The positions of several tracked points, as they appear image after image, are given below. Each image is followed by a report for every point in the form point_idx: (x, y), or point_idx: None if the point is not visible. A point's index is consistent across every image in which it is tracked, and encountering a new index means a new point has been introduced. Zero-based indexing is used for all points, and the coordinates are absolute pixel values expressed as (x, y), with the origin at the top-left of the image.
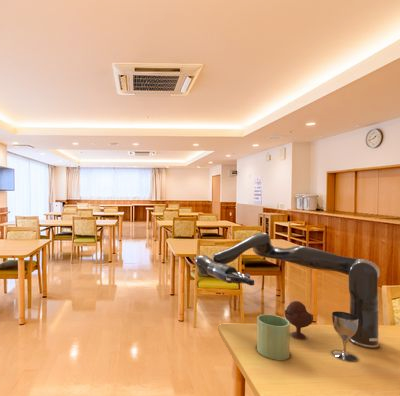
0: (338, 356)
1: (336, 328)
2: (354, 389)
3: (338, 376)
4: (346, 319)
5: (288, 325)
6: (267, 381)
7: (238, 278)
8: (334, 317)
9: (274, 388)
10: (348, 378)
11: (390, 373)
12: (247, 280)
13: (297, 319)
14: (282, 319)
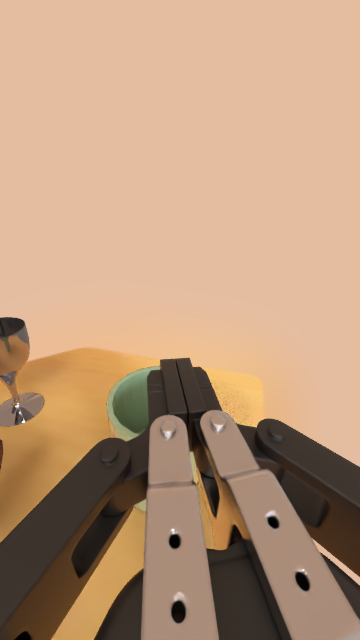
0: (37, 407)
1: (24, 358)
2: (127, 357)
3: (115, 375)
4: (23, 321)
5: (144, 368)
6: (238, 389)
7: (288, 430)
8: (17, 337)
9: (235, 377)
10: (107, 369)
11: (31, 364)
12: (206, 383)
13: (1, 447)
14: (113, 404)
